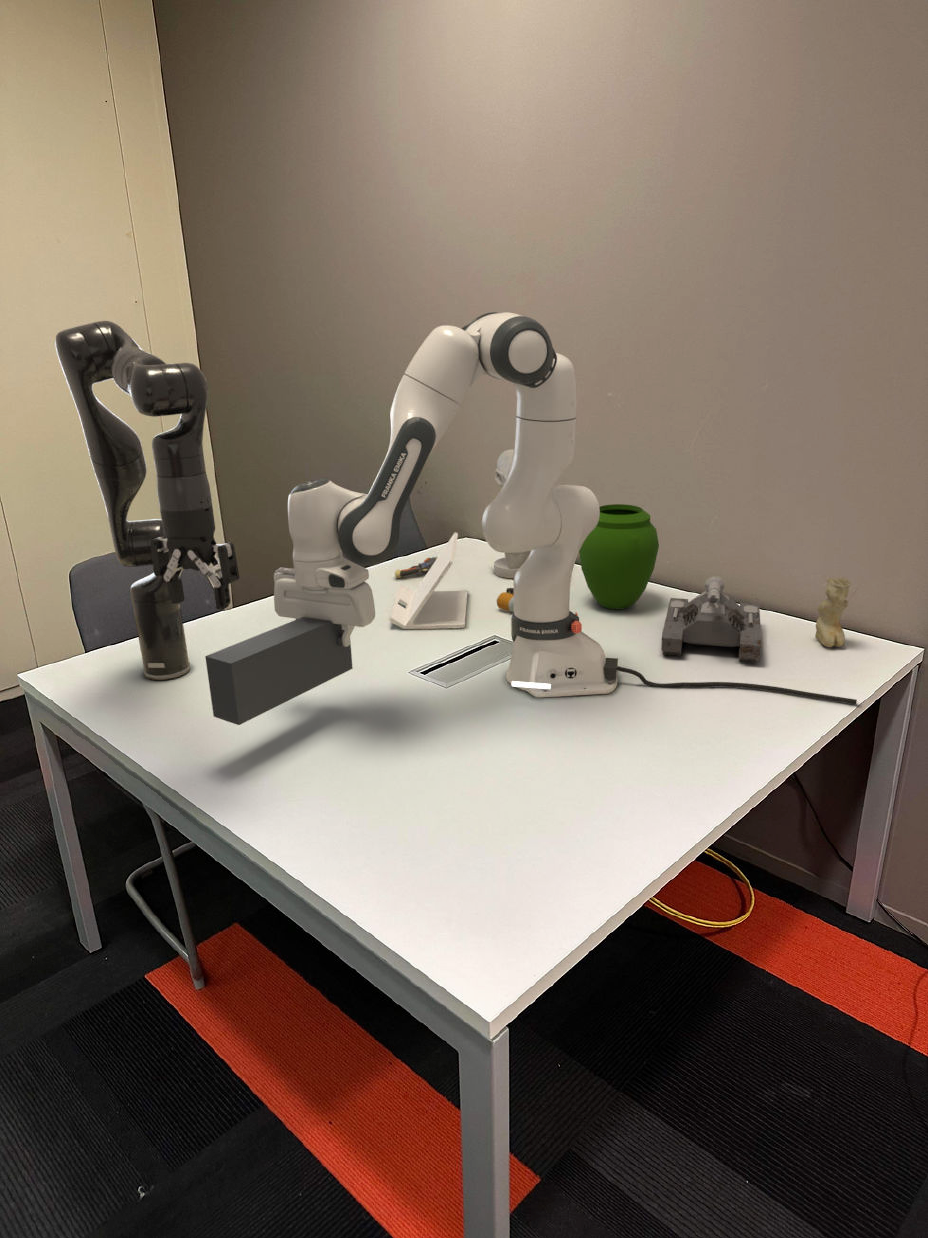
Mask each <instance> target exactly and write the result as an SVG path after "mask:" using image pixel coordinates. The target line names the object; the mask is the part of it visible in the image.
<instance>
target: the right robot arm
mask: <svg viewBox="0 0 928 1238" xmlns="http://www.w3.org/2000/svg"><path fill="white" fill-rule="evenodd" d="M575 373H576V372H575V367H574V365H573V363H572V361H571V360H570V359H569V358H568V357H567V356H565V355H563V354H561V353H558V352H556V351H555V349H554V347H553V341H552V339H551V337H550V335H549V333H548V331H547V330H546V328H545V327H544V326H543V324H541V323H540V322H539V321H537V320H536V319H534V318H532V317H529V316H525V315H521V314H518V313H515V312H508V311H506V312H505V311H504V312H497V311H495V312H494V311H493V312H487V313H484V314H481V315H479V316H477V317H475V318H474V319H473V320H471V321H470V322H469V323H468V324H466V325H464V326H463V327H458V326H454V325H447V324H446V325H445V324H444V325H440V326H436V327H435V328H434V329H432V330H431V332H430V333H429V334H428V336H427V337H426V338H425V339H424V341H423V342H422V343H421V345H420V346H419V347H418V350H417V351H416V352H415V354H414V356H413V357H412V359H411V360H410V362H409V364H408V366H407V367H406V370H405V371H404V374H403V375H402V377H401V379H400V381H399V383H398V386H397V388H396V392H395V394H394V397H393V401H392V403H391V406H390V412H389V416H390V441H389V444H388V445H389V446H388V450H387V453H386V455H385V457H384V460H383V462H382V464H381V466H380V469H379V470H378V473H377V475H376V477H375V479H374V481H373V483H372V485H371V488H370V490H369V492H368V494H366V493H362V492H357V491H353V490H350V489H347V488H344V487H342V486H339V484H336V483H334V482H333V481H331V480H330V479H326V478H318V479H312V480H308V481H305V482H303V483H300V484H297V485H296V486H295V487H294V488H292V490H291V491H290V492H289V494H288V499H287V518H288V520H287V521H288V522H287V523H288V530H289V531H288V532H289V537H290V539H291V541H292V544H293V550H292V563H293V568H292V567H291V568H287V567H285V566H284V567H282V566H281V567H279V568H278V569H276V570H275V572H274V574H273V583H274V587H273V604H274V612H275V613H276V614H277V616H278V617H280V618H288V619H289V618H290V619H294V620H297V619H299V618H302V617H308V618H315V619H322V620H328V621H332V623H334V624H341V626H342V630H345V631H344V633H343V635H341V636H340V637H338V641H339V646H344V647H347V646H349V645H350V643H351V635H352V633H353V631H354V629H355V628H365V627H367V626H368V625H370V624H371V623H372V622H373V621H374V620H375V618H376V607H375V599H374V594H373V590H372V587H371V586H370V584H369V583H368V582H366V581H368V580H369V578H370V572H369V570H368V569H367V568H366V567H371V566H377V565H380V564H382V563H384V562H386V561H387V560H389V559H390V558H391V557H392V556H393V555H394V553H395V552H396V550H397V547H398V545H399V541H400V531H401V529H400V526H401V518H402V515H403V511H404V509H405V507H406V505H407V502H408V501H409V498H410V496H411V494H412V492H413V490H414V488H415V486H416V484H417V481H418V479H419V477H420V475H421V472H422V471H423V469H424V467H425V464H426V463H427V461H428V459H429V457H430V456H431V454H432V453H433V451H434V449H435V448H436V446H437V445H438V443H439V442H440V440H441V439H442V437H443V436H444V434H445V433H446V431H447V430H448V428H449V427H450V425H451V424H452V422H453V420H454V418H455V416H456V415H457V413H458V411H459V410H460V407H461V405H462V404H463V401H465V397H466V395H467V394H468V391H469V389H470V388H471V387H472V385H473V384H474V383H476V381H477V380H478V379H479V378H481V377H482V376H485V375H486V376H489V377H491V378H494V379H497V380H501V381H502V380H503V381H508V382H510V383H512V384H513V386H514V389H515V395H516V407H515V408H516V409H515V432H514V447H513V449H514V455H513V461H512V465H511V468H510V471H509V474H508V476H507V478H506V481H505V483H504V485H503V487H502V486H501V489H500V490H499V492H498V493H497V494H496V496H495V497H494V499H492V501H491V502H490V503H489V504H488V505H487V506H486V507H485V509H484V511H483V513H482V517H481V531H482V536H483V537H484V540H485V541H486V543H487V544H488V545H489V547H490V548H491V549H493V550H494V551H495V552H497V553H504V554H505V553H522V552H526V551H530V550H531V552H530V554H529V557H528V558H527V560H526V561H525V562H524V564H523V565H522V566H521V567H520V568H519V569H518V570H517V572H516V574H515V576H514V578H513V588H514V611H513V612H511V618H510V635H511V640H512V645H511V646H512V647H511V655H510V660H509V665H508V669H507V672H506V675H505V678H506V681H507V683H509V684H510V685H511V687H515V688H517V689H519V690H522V691H525V692H527V693H529V694H530V695H531V696H533V697H535V698H556V697H572V696H573V697H574V696H588V695H589V696H590V695H591V696H592V695H607V694H611V693H612V692H613V691H615V690H616V688H617V686H618V672H622V673H626V674H631V675H633V676H635V677H637V678H638V679H639V680H640V681H641V682H642V683H643V684H644V685H645V686H649V687H652V688H661V689H662V688H663V689H670V688H671V689H674V688H703V687H704V688H706V687H708V688H709V687H712V688H713V687H728V688H741V689H742V688H743V689H744V688H745V689H754V690H763V691H771V692H778V693H785V694H788V695H789V694H790V695H793V696H794V695H795V696H800V697H801V696H802V697H806V698H811V699H819V700H825V701H826V700H827V701H830V702H831V701H832V702H838V703H845V704H853V705H857V703H858V699H855V698H849V697H842V696H834V695H830V694H823V693H822V694H821V693H815V692H809V691H803V690H798V689H793V688H787V687H781V686H773V685H765V684H758V683H756V684H755V683H747V682H734V681H733V682H732V681H700V682H699V681H698V682H697V681H696V682H693V681H691V682H685V681H684V682H668V683H660V682H652V681H650V680H647V679H646V678H645V676H644V674H642V673H641V672H639V671H637V670H635V669H633V668H632V669H631V668H628V667H624V666H619V658H618V657H617V658H616V657H607V656H606V654H605V651H604V648H603V647H602V645H601V644H600V643H599V642H598V641H596V640H595V639H593V638H591V637H590V636H589V635H587V634H586V633H585V632H583V631H582V630H583V626H582V625H583V624H582V622H581V621H580V616H579V615H578V612H577V611H575V613H574V612H573V611H571V610H570V600H571V581H572V576H573V575H572V574H573V570H574V566H575V564H576V561H577V558H578V555H579V551H580V549H581V546H582V544H583V543H584V541H585V539H586V538H587V536H588V535H589V534H590V533H591V532H592V531H593V529H594V528H595V527H596V525H597V523H598V521H599V516H600V508H599V507H600V503H599V500H598V498H597V496H596V495H595V494H594V493H593V491H592V490H591V488H588V487H586V486H583V485H574V484H561V485H556V484H557V482H558V480H559V478H560V476H561V475H562V474H563V473H564V471H566V469H568V467H570V465H571V464H572V463H573V460H574V457H575V452H576V433H577V416H578V415H577V414H578V394H577V393H578V392H577V380H576V374H575ZM343 555H344V556H345V557H346V558H345V557H344V556H343ZM364 566H366V567H364ZM351 644H352V643H351Z"/></svg>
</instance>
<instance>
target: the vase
mask: <svg viewBox="0 0 928 1238" xmlns="http://www.w3.org/2000/svg"><path fill="white" fill-rule="evenodd" d="M599 508H600V516H599V521H598V523H597V525H596V527H595V528H594V529H593V531H592V532H591V533H590V534H589V535H588V536H587V538H586V539H585V541H584V543H583V544H582V546H581V549H580V551H579V553H578V555H579V562H580V569H581V571H582V574H583V577H584V580H585V583H586V585H587V588H588V590H589V591H590V594H592V597H593V598H594V600H595V601H596V602H597V603H598V604H599V605H600V606H602V607H604V608H606V609H609V610H625V609H628V608H630V607H632V606H634V604H636V602H638V601H639V599H640V597H641V596H642V595H643V593H644V592H645V590H646V588H647V586H648V584H649V581H650V579H651V577H652V574H653V572H654V570H655V566H656V562H657V557H658V552H659V548H660V544H659V543H660V542H659V537H658V531H657V528H656V527H655V526H654V524H653V523H652V522H651V515H650V514H649V512H647V511H645V510H644V509H643V508H642V507H641V506H638V505H633V504H622V503H621V504H619V503H616V504H615V503H614V504H604V505H601V506H600V505H599Z"/></svg>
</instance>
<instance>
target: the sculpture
mask: <svg viewBox="0 0 928 1238" xmlns="http://www.w3.org/2000/svg"><path fill="white" fill-rule="evenodd" d="M826 581H827V586H826V588H825V590H824V593H825V595H826V596H827V598H826V600H824V601H822V602H821V603H820V604H819V605H818V606H817V609H816V610H817V612H818V614H819V616H818V617H817V619H816V623H815V630H816V631H815V634H814V635H815V639H817V640H819V642H820V643H821V644H822V645H823V646H825V647H827V648H832V647H834V646H835V647H843V646H844V645H845V643H846V642H845V641H846V636H845V632H844V630H843V626H842V624H841V622H840V621H841V617H842V615H843V612H844V610H845V609H846V608H847V606H848V604H849V603H848V602H849V601H847V598H848V597H849V592H850V586H851V585H852V582H850V580H848V579H847V578H845V577H841V576H840V577H835V578H831V577H827V578H826Z"/></svg>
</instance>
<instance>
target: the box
mask: <svg viewBox="0 0 928 1238" xmlns="http://www.w3.org/2000/svg"><path fill="white" fill-rule="evenodd" d="M344 631H345V630H342V626H341V624H334V623H332V621H328V620H322V619H315V618H308V617H302V618H299V619H297V620H296V619H294V620H292V621H290V622H287V623H284V624H282V625H279V626H277V627H274V628H271V629H269V630H267V631H264V632H262V633H260V634H257V635H254V636H252V637H249V638H248V639H245V640H242V641H239V642H237V643H235V644H232V645H229V646H227V647H224V648H222V649H220V650H218V651H214V652H212V653H209V654H207V655H205V656H204V657H205V665H206V672H207V679H208V685H209V687H208V688H209V693H210V700H211V709H212V715H213V718H217V719H219V720H223V721H225V722H229V723H231V724H234V725H237V726H240V725H243V724H245V723H247V722H249V721H250V720H252V719H255V718H256V717H259V716H260V715H263V714H264V713H266V712H268V711H271V710H272V709H274V708H277V707H278V706H281V705H283V704H285V703H287V702H288V701H290V700H293V699H295V698H297V697H298V696H301V695H303V694H305V693H307V692H309V691H311V690H313V689H315V688H316V687H319V686H321V685H323V684H325V683H327V682H329V681H331V680H333V679H335V678H337V677H339V676H341V675H343V674H345V673H347V672H349V671H351V670H353V657H352V656H353V655H352V643H350V645H349V646H347V647H344V646H339V641H338V637H340V636H341V635H343V633H344Z"/></svg>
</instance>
